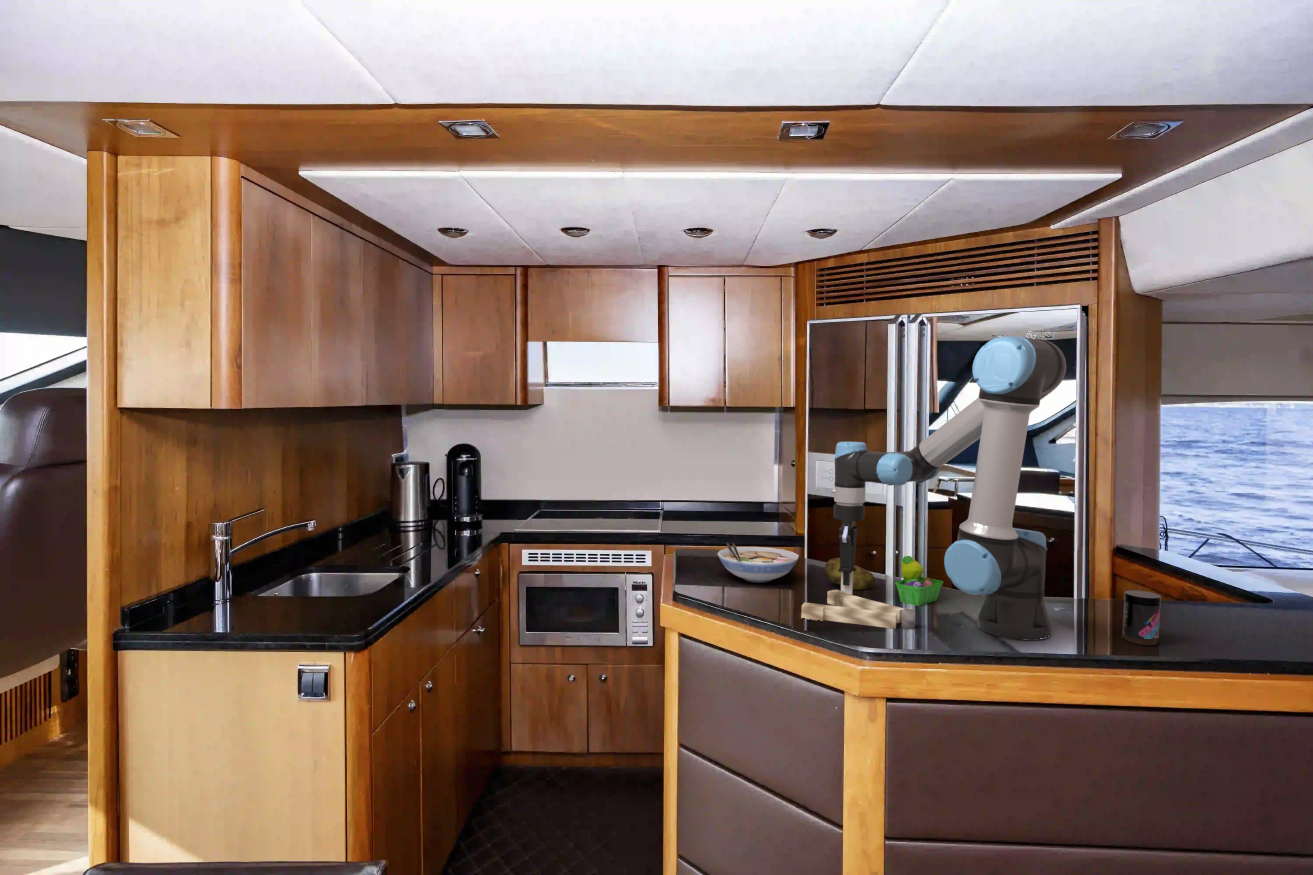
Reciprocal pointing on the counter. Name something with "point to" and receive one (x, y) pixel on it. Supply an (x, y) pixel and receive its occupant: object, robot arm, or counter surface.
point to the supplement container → (1141, 614)
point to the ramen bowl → (757, 562)
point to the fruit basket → (916, 584)
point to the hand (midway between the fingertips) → (846, 597)
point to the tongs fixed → (857, 616)
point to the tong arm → (861, 603)
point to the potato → (860, 576)
